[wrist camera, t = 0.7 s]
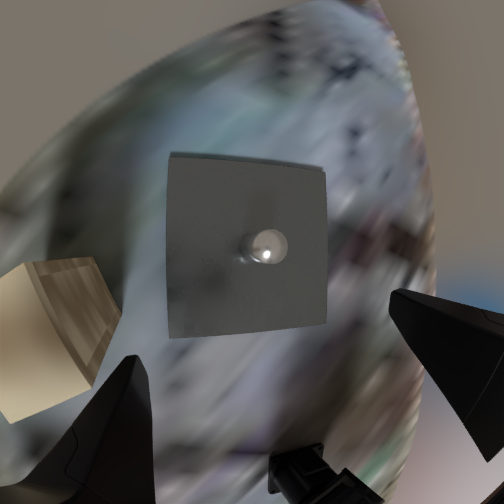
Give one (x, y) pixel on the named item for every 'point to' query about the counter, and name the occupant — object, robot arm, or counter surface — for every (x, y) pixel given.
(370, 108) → the counter surface
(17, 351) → the birch post
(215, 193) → the post plate
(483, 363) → the robot arm
